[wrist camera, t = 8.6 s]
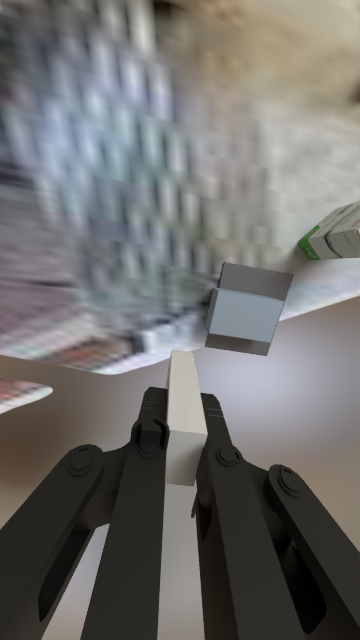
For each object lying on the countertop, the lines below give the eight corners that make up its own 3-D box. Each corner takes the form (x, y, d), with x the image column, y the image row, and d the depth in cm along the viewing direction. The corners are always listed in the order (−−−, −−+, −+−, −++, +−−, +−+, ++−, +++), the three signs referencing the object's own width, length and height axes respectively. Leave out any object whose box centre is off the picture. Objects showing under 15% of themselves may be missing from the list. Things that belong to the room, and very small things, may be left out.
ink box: (310, 261, 37) (370, 259, 25) (296, 241, 36) (353, 230, 24) (350, 228, 35) (433, 211, 24) (337, 206, 34) (417, 177, 23)
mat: (205, 345, 42) (205, 346, 41) (224, 262, 37) (224, 262, 36) (265, 354, 42) (266, 356, 42) (292, 274, 37) (293, 274, 37)
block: (209, 332, 35) (270, 342, 36) (218, 290, 33) (284, 301, 33) (205, 324, 40) (259, 333, 40) (213, 287, 37) (270, 297, 38)
